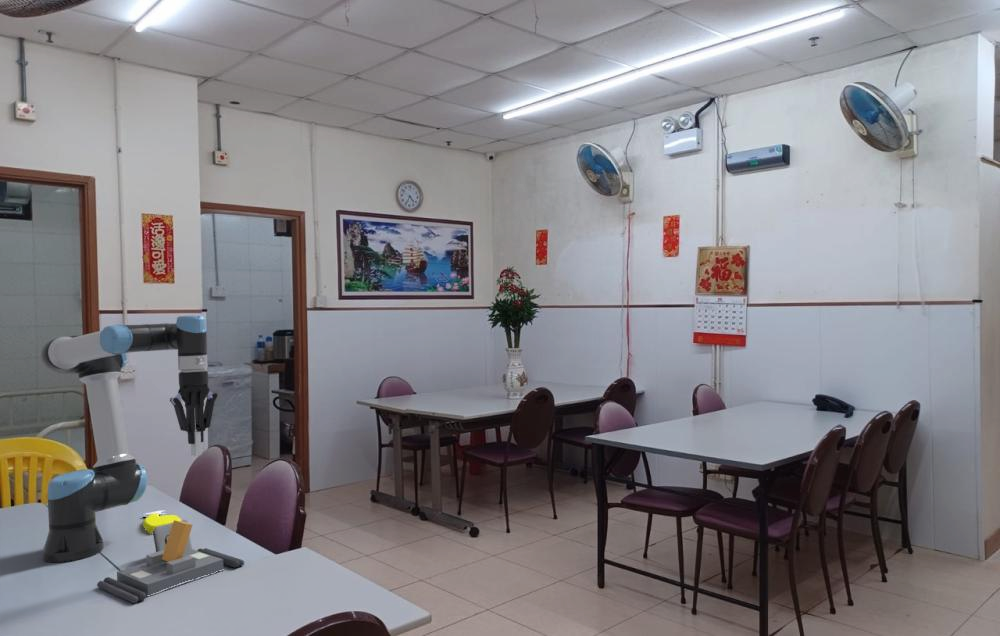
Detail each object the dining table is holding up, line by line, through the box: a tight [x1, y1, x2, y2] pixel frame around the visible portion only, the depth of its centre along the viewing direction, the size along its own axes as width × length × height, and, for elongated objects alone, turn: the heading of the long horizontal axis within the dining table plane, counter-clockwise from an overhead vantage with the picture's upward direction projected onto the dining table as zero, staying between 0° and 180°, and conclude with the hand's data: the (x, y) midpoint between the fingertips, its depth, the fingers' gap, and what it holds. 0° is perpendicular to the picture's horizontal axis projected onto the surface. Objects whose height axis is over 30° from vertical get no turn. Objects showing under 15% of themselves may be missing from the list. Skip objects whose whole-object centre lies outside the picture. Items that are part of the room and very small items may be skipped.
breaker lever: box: [162, 520, 193, 563], centre depth 181 cm, size 7×2×11 cm, turn 53°
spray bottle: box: [142, 509, 182, 534], centre depth 230 cm, size 3×11×24 cm
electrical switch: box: [152, 519, 193, 552], centre depth 198 cm, size 9×5×9 cm, turn 141°
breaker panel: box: [116, 548, 224, 595], centre depth 180 cm, size 16×20×5 cm
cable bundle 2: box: [196, 547, 245, 569], centre depth 191 cm, size 19×3×2 cm, turn 53°
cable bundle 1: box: [96, 576, 147, 604], centre depth 170 cm, size 19×3×2 cm, turn 53°
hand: (196, 454), depth 192 cm, fingers closed
